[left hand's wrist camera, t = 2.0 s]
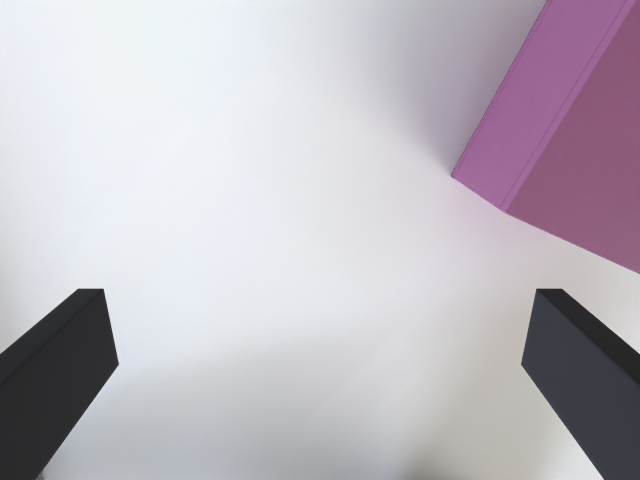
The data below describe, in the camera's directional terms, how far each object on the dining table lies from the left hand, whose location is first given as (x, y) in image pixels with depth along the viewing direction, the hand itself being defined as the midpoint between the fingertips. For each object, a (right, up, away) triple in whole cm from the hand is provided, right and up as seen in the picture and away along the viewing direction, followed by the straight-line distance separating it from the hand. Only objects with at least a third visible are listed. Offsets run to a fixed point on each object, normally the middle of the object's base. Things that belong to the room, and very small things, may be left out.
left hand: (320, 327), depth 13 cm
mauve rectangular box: (+18, +12, +19) cm, 29 cm away
